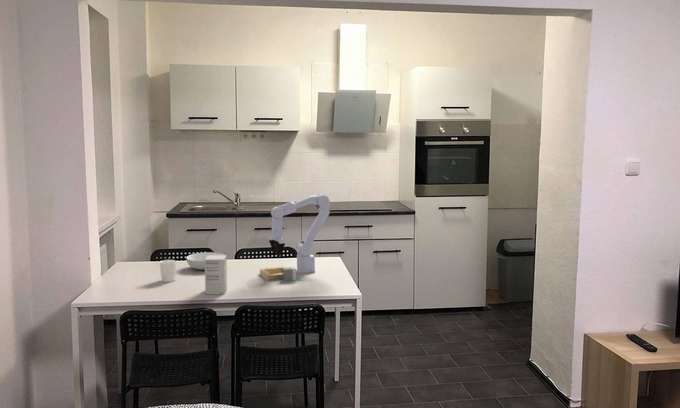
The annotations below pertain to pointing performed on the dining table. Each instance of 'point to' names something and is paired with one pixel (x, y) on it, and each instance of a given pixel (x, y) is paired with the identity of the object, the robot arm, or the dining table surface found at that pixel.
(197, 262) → the serving bowl
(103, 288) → the dining table surface
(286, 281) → the flat green panel
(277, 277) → the tan wooden shallow tray
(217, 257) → the supplement box
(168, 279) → the white cup
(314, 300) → the dining table surface
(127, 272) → the dining table surface
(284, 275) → the grey box
